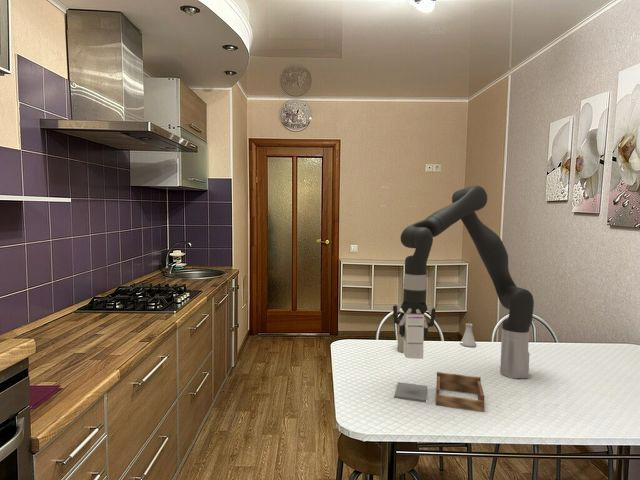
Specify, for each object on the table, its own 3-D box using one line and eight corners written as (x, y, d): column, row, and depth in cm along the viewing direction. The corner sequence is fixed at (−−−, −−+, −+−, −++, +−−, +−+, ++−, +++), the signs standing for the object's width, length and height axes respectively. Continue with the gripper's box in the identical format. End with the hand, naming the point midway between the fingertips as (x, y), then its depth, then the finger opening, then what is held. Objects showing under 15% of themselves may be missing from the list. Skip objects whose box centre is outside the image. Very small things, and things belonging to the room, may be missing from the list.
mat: (427, 387, 139) (427, 385, 139) (426, 402, 128) (426, 400, 128) (397, 383, 142) (397, 381, 142) (394, 397, 130) (394, 395, 130)
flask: (476, 344, 192) (477, 323, 192) (476, 348, 185) (477, 326, 185) (460, 342, 194) (461, 321, 194) (459, 346, 188) (460, 325, 187)
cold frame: (479, 393, 135) (480, 377, 135) (484, 411, 122) (484, 394, 122) (436, 387, 139) (436, 371, 139) (435, 404, 126) (436, 387, 126)
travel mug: (411, 354, 174) (413, 313, 173) (394, 351, 178) (395, 310, 177) (418, 350, 180) (419, 310, 180) (401, 346, 185) (402, 307, 184)
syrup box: (423, 358, 131) (425, 314, 131) (405, 358, 132) (406, 314, 131) (419, 353, 137) (421, 310, 136) (402, 352, 137) (403, 310, 137)
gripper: (437, 287, 135) (435, 336, 136) (394, 284, 139) (392, 332, 140) (437, 290, 128) (435, 342, 128) (391, 287, 132) (390, 338, 133)
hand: (413, 337), depth 134 cm, fingers closed on syrup box, 6 cm apart
